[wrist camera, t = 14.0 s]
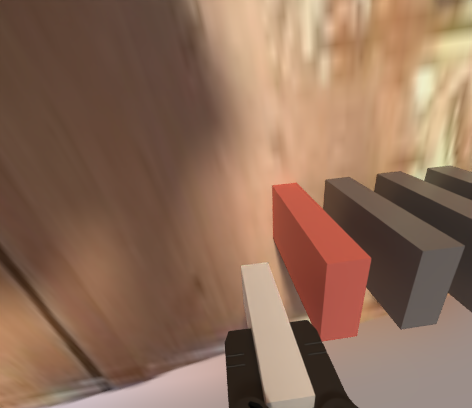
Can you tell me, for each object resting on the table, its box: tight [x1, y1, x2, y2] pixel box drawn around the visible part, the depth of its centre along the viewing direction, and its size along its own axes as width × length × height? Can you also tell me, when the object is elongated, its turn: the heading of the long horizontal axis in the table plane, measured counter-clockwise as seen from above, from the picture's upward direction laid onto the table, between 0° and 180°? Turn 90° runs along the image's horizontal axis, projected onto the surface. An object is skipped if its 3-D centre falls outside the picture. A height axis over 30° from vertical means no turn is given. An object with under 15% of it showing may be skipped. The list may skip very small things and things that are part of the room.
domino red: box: [272, 183, 371, 341], centre depth 16 cm, size 2×5×10 cm, turn 5°
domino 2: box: [374, 171, 472, 312], centre depth 17 cm, size 2×5×10 cm, turn 5°
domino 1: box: [323, 177, 465, 329], centre depth 17 cm, size 2×5×10 cm, turn 5°
